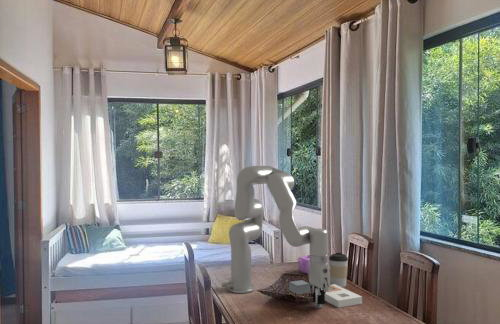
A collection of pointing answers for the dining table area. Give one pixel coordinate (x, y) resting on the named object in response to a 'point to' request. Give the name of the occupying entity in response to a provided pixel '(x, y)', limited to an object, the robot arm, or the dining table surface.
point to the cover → (299, 287)
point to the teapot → (304, 264)
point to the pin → (316, 298)
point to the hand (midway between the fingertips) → (318, 302)
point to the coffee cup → (338, 269)
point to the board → (341, 297)
